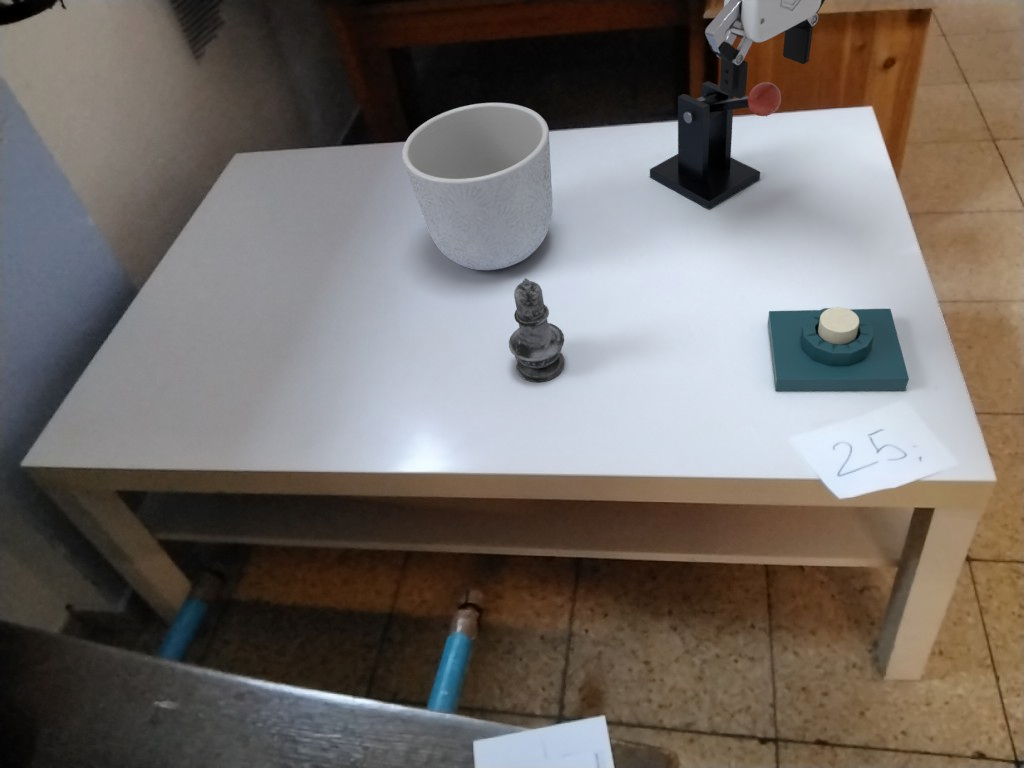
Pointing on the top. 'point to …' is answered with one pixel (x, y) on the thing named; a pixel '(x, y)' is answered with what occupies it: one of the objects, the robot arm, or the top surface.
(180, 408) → the top surface
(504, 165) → the planter
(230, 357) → the top surface
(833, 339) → the button
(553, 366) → the stone chess piece
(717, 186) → the lever base
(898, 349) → the block
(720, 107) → the lever
